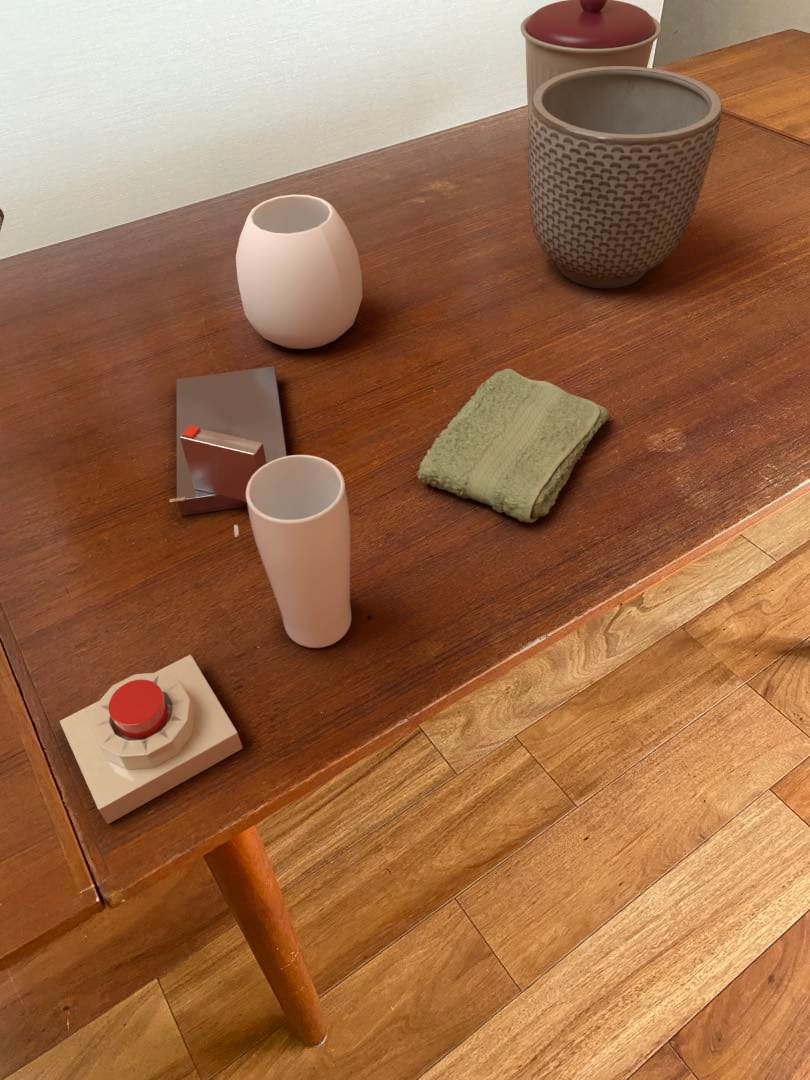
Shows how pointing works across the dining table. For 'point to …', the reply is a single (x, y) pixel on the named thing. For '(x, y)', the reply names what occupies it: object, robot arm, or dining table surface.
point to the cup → (298, 272)
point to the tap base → (227, 425)
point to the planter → (617, 168)
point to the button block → (151, 742)
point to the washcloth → (513, 445)
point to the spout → (221, 461)
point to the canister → (585, 38)
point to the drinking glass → (304, 544)
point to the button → (138, 709)
